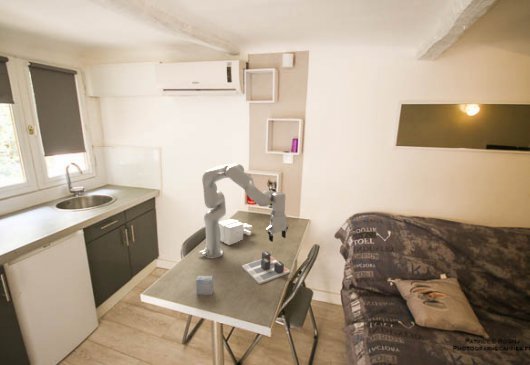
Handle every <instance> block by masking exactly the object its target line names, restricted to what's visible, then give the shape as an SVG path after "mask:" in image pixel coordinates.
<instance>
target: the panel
mask: <svg viewBox="0 0 530 365" xmlns="http://www.w3.org/2000/svg"><path fill="white" fill-rule="evenodd" d="M266 258H267V259H268V260H270V269H267V270H264V269H262V268H261V260H263V259H266ZM241 268H242V269H243V270H244V271H245V272H246V273H247V274H248V275H249V276H250V277H251V278H252V279H253V280H254V281H255V282H256V283H257V284H258V285H261V284H263V283H266V282H269V281H273V280H274V279H277V278H279V277H282V276H284V275H288V274H290V272H291V271H290V269H288V268H286V267H285V263H283V262H281V261H278V260H276V259H275V258H274V257H272V256H271V253H270V252H269V251H267V250H266V251H264V252H261V259H258V260H255V261H252V262H248V263H246V264H242V265H241Z"/></svg>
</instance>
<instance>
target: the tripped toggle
mask: <svg viewBox="0 0 530 365" xmlns="http://www.w3.org/2000/svg"><path fill="white" fill-rule="evenodd" d="M260 260H261V259H260ZM261 268H262V269H264V270H267V269H270V260H268V259H267V258H266V259H263V260H261Z"/></svg>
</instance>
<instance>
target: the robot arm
mask: <svg viewBox="0 0 530 365" xmlns="http://www.w3.org/2000/svg"><path fill="white" fill-rule="evenodd" d="M227 178H229V179H230V180H231V181H232V182H234V183H235V184H237V185H238V186H239V187H240V188H242V189H243V190H244V192H245V193H246V195H247V196H248V198H249V199H250V200H252V201H253V202H254V203H256V204H257V205H259V206H260V207H267V206H268V205H270V204H271V203H272V208H271V209H272V210H271V212H270V215H271V216H270V221H269V226H268V227H266V228H265V232H266V233H267V234H268V241H270V242H274V234H276V233H280V232H281V237H282V238H283V239H286V234H287V232H288V229H289V226H290V223H288V222H287V215H286V213H285V212H286V194H285V193H284V192H281V191H280V192H279V191H273V190H269V189H268V190H263V192H262V191H261V190H260V189H258V187H257V186H255V183H254V179H253V177H252V176H250V175H249V174H247V172H245V168H244V166H243V165H242V164H240V163H233V164H224V165H219V166H216V167H213V168H210V169H208V170H206V171H205V172H204V173H203V175H202V185H203V186H202V189H203V197H204V198H203V199H204V204H205V208H207V209H209V210H208V211H206V213H205V214H204V217H203V221H204V226H205V247H204V249H203V250H200V251H199V252H198V253H199V255H202V256H204V257H205V258H206V259H219V258H220V257H222V255H223V254H224V251H223V250H222V249H221V241H220V226H219V222H221V220H222V219H224V218H225V217H226V197H225V195H224V193H223V192H222V191H220V190H218V187H217V186H218V185H217V182H219V181H221V180H223V179H227Z"/></svg>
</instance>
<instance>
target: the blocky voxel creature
mask: <svg viewBox="0 0 530 365" xmlns="http://www.w3.org/2000/svg"><path fill="white" fill-rule="evenodd" d="M219 226H220V242H221V243H223V242H224V243H223V244H225V245H228V246H231V245H233V244H235V243H238V241H239V242H241V241H240V240H242V241H244V240H243V239H244V235H247V236H251V235H252V231H250V230H252V229H253V225H251V224H249V223H246V222H245V223H242V222H241V221H240V220H238V219H233V218H229V219H227V220H222V221H221V220H220V221H219Z"/></svg>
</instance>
